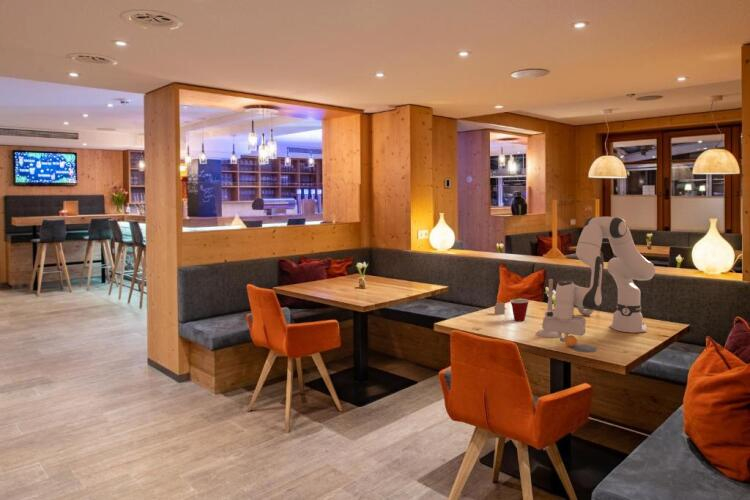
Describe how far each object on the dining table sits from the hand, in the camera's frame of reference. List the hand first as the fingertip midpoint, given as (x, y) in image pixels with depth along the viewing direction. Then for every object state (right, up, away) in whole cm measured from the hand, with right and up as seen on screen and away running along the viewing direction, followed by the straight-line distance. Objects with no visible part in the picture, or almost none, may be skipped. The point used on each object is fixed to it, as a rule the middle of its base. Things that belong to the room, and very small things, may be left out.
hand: (562, 341), depth 274 cm
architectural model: (-16, +5, +68) cm, 70 cm away
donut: (+35, +5, +62) cm, 72 cm away
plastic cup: (-8, +4, +51) cm, 52 cm away
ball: (+3, +1, -3) cm, 4 cm away
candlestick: (-1, 0, +20) cm, 20 cm away
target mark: (+8, -3, -5) cm, 10 cm away
